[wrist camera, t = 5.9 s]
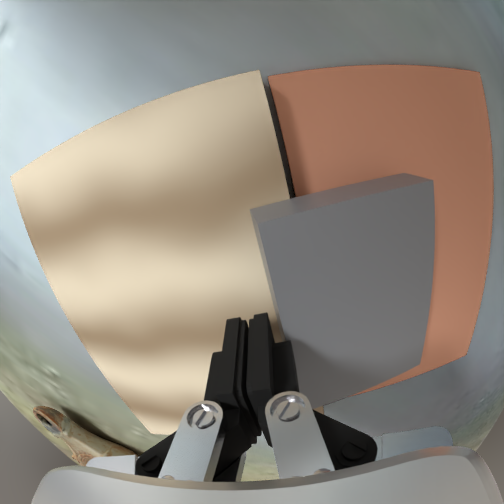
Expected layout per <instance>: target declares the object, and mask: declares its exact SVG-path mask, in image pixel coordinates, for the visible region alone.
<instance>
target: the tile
mask: <svg viewBox="0 0 504 504" xmlns="http://www.w3.org/2000/svg"><path fill="white" fill-rule="evenodd" d="M249 210H250V214H251V218H252V222H253V226H254V229H255V233H256V237H257V241H258V245H259V249H260V253H261V257H262V261H263V265H264V269H265V273H266V277H267V281H268V285H269V289H270V293H271V297H272V301H273V305H274V309H275V313H276V317H277V322H278V326H279V330H280V334H281V338H282V342H284V341H289V340H291V343H292V348H293V353H294V358H295V364H296V370H297V377H298V385H299V392H300V393H302V394H303V395H304V396H306V397H307V399H308V400H309V402H310V405H311V407H312V409H315V408H318V407H321V406H324V405H327V404H330V403H333V402H335V401H338V400H341V399H344V398H346V397H349V396H351V395H354V394H356V393H359V392H361V391H364V390H366V389H369V388H371V387H373V386H376V385H378V384H380V383H383V382H385V381H387V380H389V379H391V378H394V377H396V376H398V375H400V374H402V373H404V372H406V371H408V370H410V369H412V368H414V367H416V366H418V365H420V362H421V357H422V352H423V347H424V342H425V336H426V330H427V324H428V317H429V310H430V302H431V293H432V282H433V269H434V250H435V202H434V183H433V180H431V179H427V178H423V177H419V176H415V175H411V174H407V173H401V174H396V175H391V176H386V177H382V178H377V179H372V180H368V181H363V182H359V183H354V184H350V185H345V186H341V187H337V188H332V189H328V190H324V191H320V192H316V193H312V194H307V195H303V196H299V197H295V198H291V199H287V200H283V201H280V202H276V203H272V204H268V205H264V206H260V207H257V208H253V209H249Z"/></svg>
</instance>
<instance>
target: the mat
mask: <svg viewBox="0 0 504 504" xmlns="http://www.w3.org/2000/svg"><path fill="white" fill-rule="evenodd" d="M268 81H269V84H270V88H271V92H272V96H273V100H274V104H275V108H276V112H277V116H278V120H279V124H280V128H281V132H282V137H283V141H284V145H285V150H286V154H287V159H288V163H289V168H290V172H291V177H292V182H293V187H294V191H295V196H296V197H299V196H303V195H307V194H312V193H316V192H320V191H324V190H328V189H332V188H337V187H341V186H345V185H350V184H354V183H359V182H363V181H368V180H372V179H377V178H382V177H386V176H391V175H396V174H401V173H407V174H411V175H415V176H419V177H423V178H427V179H431V180H433V183H434V202H435V250H434V269H433V282H432V293H431V302H430V310H429V317H428V324H427V330H426V336H425V342H424V347H423V352H422V357H421V362H420V365H418V366H416V367H414V368H412V369H410V370H408V371H406V372H404V373H402V374H400V375H398V376H396V377H394V378H391V379H389V380H387V381H385V382H383V383H380V384H378V385H376V386H373V387H371V388H369V389H366V390H364V391H361V392H359V393H356V394H354V395H357V394H361V393H365V392H368V391H372V390H375V389H378V388H382V387H385V386H388V385H391V384H394V383H397V382H400V381H403V380H406V379H409V378H412V377H415V376H417V375H420V374H423V373H425V372H428V371H430V370H433V369H435V368H438V367H440V366H443V365H445V364H447V363H450V362H452V361H454V360H457V359H459V358H461V357H463V356H465V355H467V352H468V348H469V345H470V342H471V339H472V335H473V332H474V328H475V325H476V321H477V317H478V313H479V309H480V304H481V300H482V295H483V290H484V285H485V279H486V274H487V267H488V260H489V253H490V244H491V234H492V221H493V191H494V186H493V157H492V144H491V134H490V125H489V118H488V111H487V105H486V100H485V94H484V89H483V85H482V80H481V76H480V72H476V71H470V70H463V69H455V68H446V67H435V66H420V65H356V66H341V67H329V68H320V69H311V70H303V71H296V72H290V73H284V74H278V75H272V76H268ZM354 395H351V396H354ZM349 397H350V396H349Z"/></svg>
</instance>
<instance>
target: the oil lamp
mask: <svg viewBox="0 0 504 504" xmlns="http://www.w3.org/2000/svg"><path fill="white" fill-rule="evenodd" d="M33 413H34V415H35V417H36V418H37V420H38V421H39V422H40V423H41V424H42V425H43V426H44V427H45V428H47V429H48V430H49V431H50V432H52V433H53V435H54V436H55V437H57V438H61V439H62V440H63V441H64V442H65V443H66V444H67V445H68V446H69V448H70V449H71V451H72V452H73V455H72V458H73V459H75V460H78V462H79V463H80V464H81V465H82V466H86V464H87V463H88V462H89V460H91V459H93V458H96V457H111V456H126V455H136V456H137V457H139V456H138V455H137V454H135V453H134V452H133V451H131V450H129V449H127V448H125V447H123V446H121V445H119V444H116V443H113V442H110V441H107V440H105V439H103V438H100V437H98V436H96V435H94V434H92V433H91V432H89V431H87V430H85V429H83V428H82V427H80V426H79V425H77V424H76V423H74V422H73V421H72V420H70V419H69V418H67V417H66V416H65V415H63V414H62V413H60V412H59V411H57V410H55V409H53V408H50V407H45V406H38V407H34V409H33Z"/></svg>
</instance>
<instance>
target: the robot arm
mask: <svg viewBox="0 0 504 504" xmlns="http://www.w3.org/2000/svg"><path fill="white" fill-rule="evenodd" d="M262 431H263V434H264V436H265V438H266V441H267V443H268V445H269V446H271V447H272V448H273V451H274V455H275V460H276V464H277V469H278V473H279V477H280V479H277V480H265V481H248V482H241V478H242V473H243V469H244V464H245V460H246V451H247V450H248V449H249V448H250V447H251V444H256V443H257V436H261V433H262ZM31 504H504V503H503V500H502V497H501V495H500V492H499V489H498V486H497V484H496V482H495V479H494V477H493V476H492V473H491V471H490V470H489V468H488V466H487V464H486V463H485V461H484V460H483V459H482V458H481V457H480V455H479V454H478V453H477V452H475V451H474V450H472V449H470V448H466V447H460V446H453V441H452V436H451V434H450V432H449V431H448V430H447V429H446V428H443V427H441V426H433V427H427V428H422V429H416V430H409V431H402V432H394V433H386V434H382V436H378V437H370V436H369V435H367V434H365V433H362V432H360V431H358V430H356V429H353V428H351V427H349V426H347V425H345V424H342V423H340V422H338V421H336V420H334V419H332V418H330V417H328V416H326V415H324V414H321V413H319V412H317V411H315V410H314V409H312V407H311V405H310V402H309V400H308V399H307V397H306V396H304V395H303V394H302V393H300V392H299V385H298V377H297V370H296V364H295V358H294V353H293V348H292V343H291V340H289V341H284V342H278V343H275V341H274V337H273V333H272V329H271V325H270V321H269V316H268V313H267V312H266V313H261V314H255V315H254V318H253V319H249V327H248V324H247V321H246V320H242V319H241V317H237V318H231V319H227V320H226V326H225V333H224V339H223V346H222V351H219V352H213V354H212V357H211V363H210V368H209V374H208V379H207V385H206V390H205V396H204V401H200V402H197V403H194V404H193V405H191V406H190V407H189V408H188V409H187V410H186V411H185V413H184V414H183V417H182V419H181V422H180V424H179V427H178V429H177V431H175V432H174V433H172V434H171V435H170V436H168V437H167V438H165V439H164V440H162V441H161V442H159V443H158V444H156V445H155V446H153V447H152V448H150V449H149V450H147V451H146V452H144V453H143V454H142V455H141V456H140V457H137V456H136V455H126V456H111V457H96V458H93V459H91V460H89V462H88V463H87V464H86V466H65V467H59V468H56V469H53V470H51V471H49V472H48V473H47V474H46V475H45V477H44V478H43V479H42V481H41V483H40V485H39V486H38V489H37V491H36V493H35V495H34V497H33V500H32V503H31Z"/></svg>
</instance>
